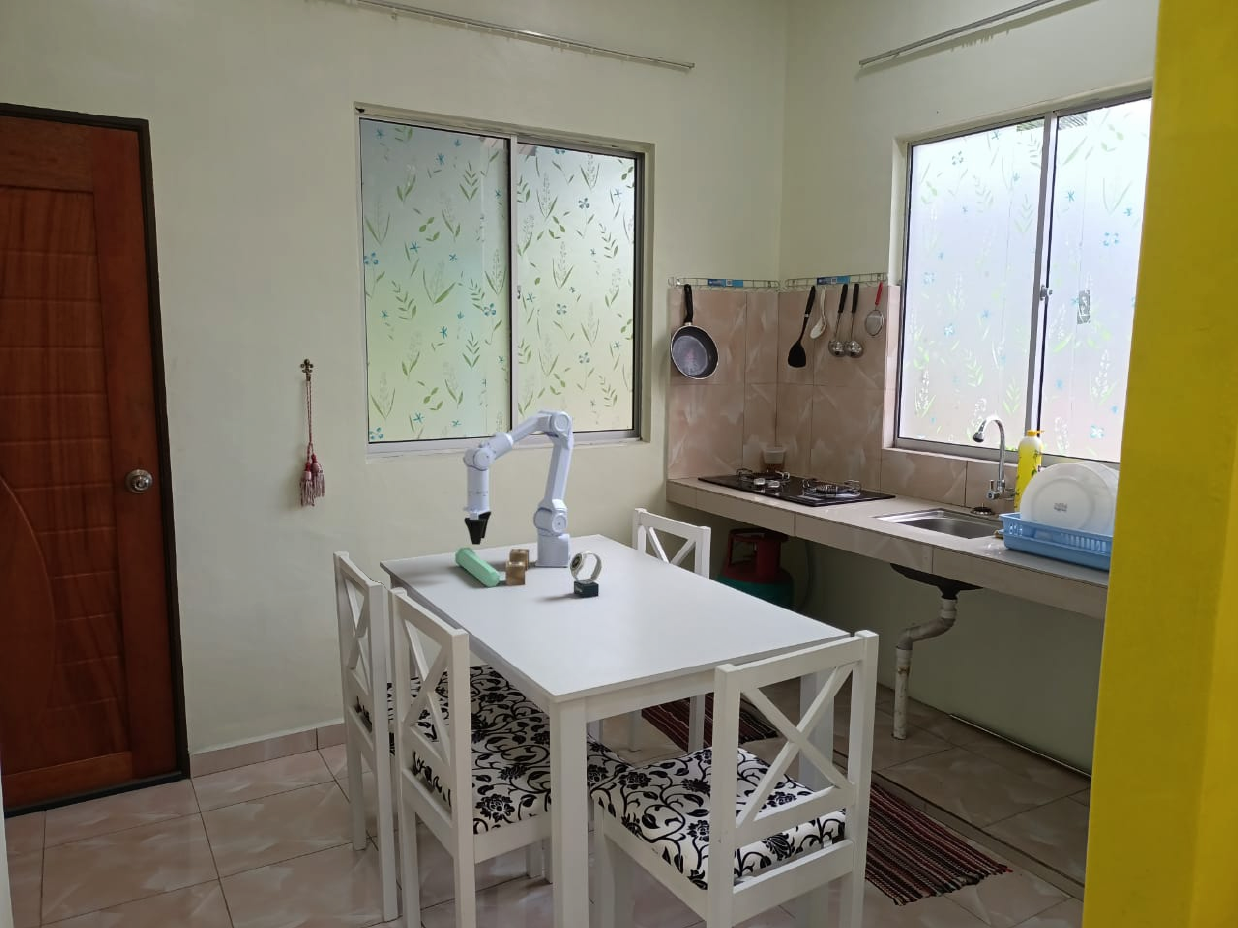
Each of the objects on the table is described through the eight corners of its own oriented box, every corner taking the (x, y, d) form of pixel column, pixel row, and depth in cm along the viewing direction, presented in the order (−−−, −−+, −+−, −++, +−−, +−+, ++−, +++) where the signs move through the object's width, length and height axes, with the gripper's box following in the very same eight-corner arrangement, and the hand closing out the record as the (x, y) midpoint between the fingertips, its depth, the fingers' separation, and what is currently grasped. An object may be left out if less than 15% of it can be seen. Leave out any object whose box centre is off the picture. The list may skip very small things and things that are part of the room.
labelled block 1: (529, 566, 257) (529, 548, 256) (527, 571, 252) (527, 552, 252) (511, 566, 257) (511, 548, 257) (509, 570, 252) (509, 552, 252)
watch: (566, 593, 230) (567, 551, 229) (595, 590, 234) (595, 548, 232) (575, 599, 225) (576, 556, 224) (604, 595, 229) (605, 552, 228)
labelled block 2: (524, 579, 243) (524, 560, 242) (525, 584, 238) (525, 565, 237) (505, 580, 242) (505, 560, 241) (506, 585, 237) (506, 565, 237)
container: (499, 564, 235) (470, 543, 257) (478, 575, 233) (451, 552, 255) (507, 584, 237) (477, 561, 259) (487, 594, 234) (459, 570, 257)
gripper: (467, 487, 251) (468, 535, 253) (458, 495, 237) (458, 546, 238) (493, 487, 251) (493, 535, 253) (485, 496, 237) (485, 547, 238)
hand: (478, 541), depth 246 cm, fingers open, 7 cm apart
